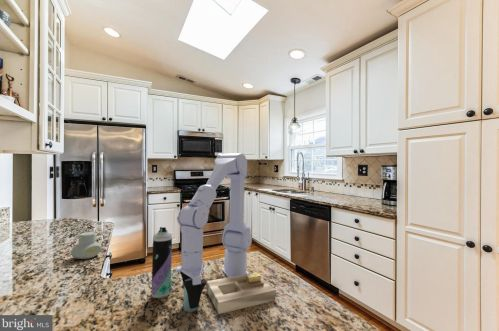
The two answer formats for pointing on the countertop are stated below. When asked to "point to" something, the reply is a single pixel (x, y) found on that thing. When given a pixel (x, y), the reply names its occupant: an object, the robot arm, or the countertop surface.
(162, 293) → the spray can
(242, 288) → the dock plate
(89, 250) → the air freshener
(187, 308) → the teal peg
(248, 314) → the countertop surface
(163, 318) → the countertop surface
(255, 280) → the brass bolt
